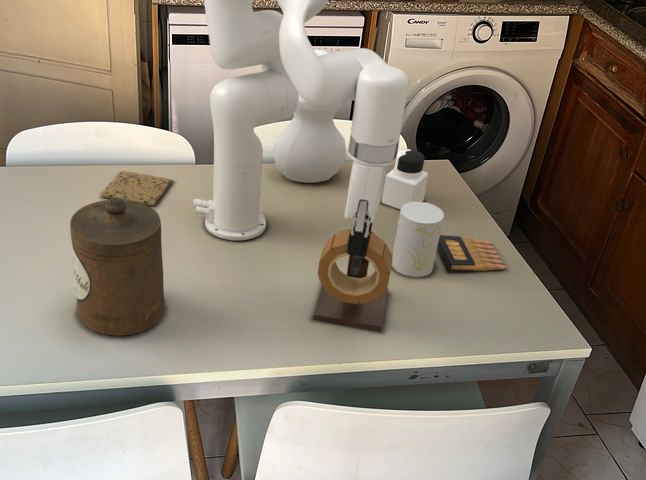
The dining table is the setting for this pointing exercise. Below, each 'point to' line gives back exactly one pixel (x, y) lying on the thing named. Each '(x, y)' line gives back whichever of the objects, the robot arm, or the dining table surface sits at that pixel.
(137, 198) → the tan flat square slab
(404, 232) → the cup
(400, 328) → the dining table surface
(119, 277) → the wooden container
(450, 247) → the ammunition clip
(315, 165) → the soap bottle
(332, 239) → the segmented brown cylinder
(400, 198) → the medicine bottle
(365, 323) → the hook stand
